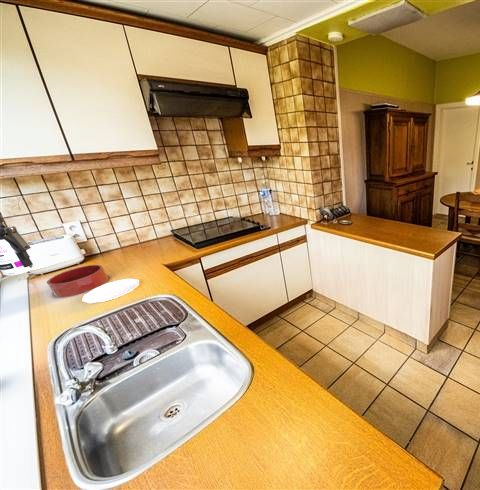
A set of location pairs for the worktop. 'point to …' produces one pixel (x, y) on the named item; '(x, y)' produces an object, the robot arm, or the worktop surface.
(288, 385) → the worktop surface
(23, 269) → the supplement can
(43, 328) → the worktop surface
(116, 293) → the plate
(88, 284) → the red round shallow bowl
